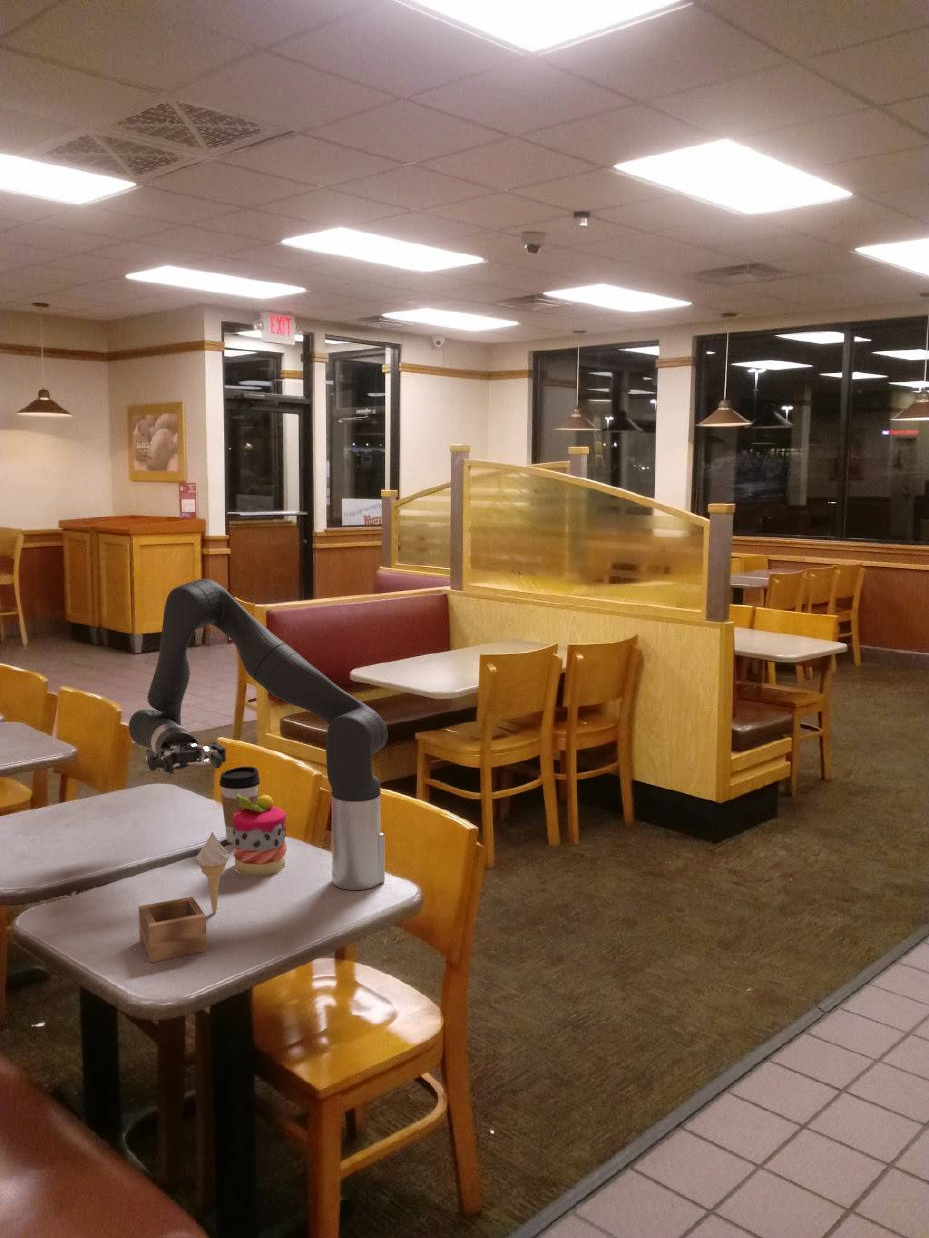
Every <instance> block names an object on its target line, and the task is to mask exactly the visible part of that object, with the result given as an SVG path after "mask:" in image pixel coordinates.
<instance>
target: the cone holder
mask: <svg viewBox="0 0 929 1238" xmlns="http://www.w3.org/2000/svg"><path fill="white" fill-rule="evenodd" d="M138 929H139V930H138V931H139V942H140V945H141V946H142V948H143V950H144V952H145V954H146V955H147V958H148V959H149V961H150V963H154V962H155V963H156V962H161V961H165V960H169V959H170V960H171V959H175V958H179V956H181V957H185V956H189V955H196V954H200V953H204V952H207V951H208V949H207V948H208V947H207V946H208V945H207V943H208V942H207V916H206V914H205V913H204V911H203V909H202V908H201V907H200V906H199V903H198V902H197V901H196V900H195V898H194V897H193V896H189V897H184V898H177V899H172V900H165V901H162V902H155V903H150V904H144V905H143V904H142V905H138Z"/></svg>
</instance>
